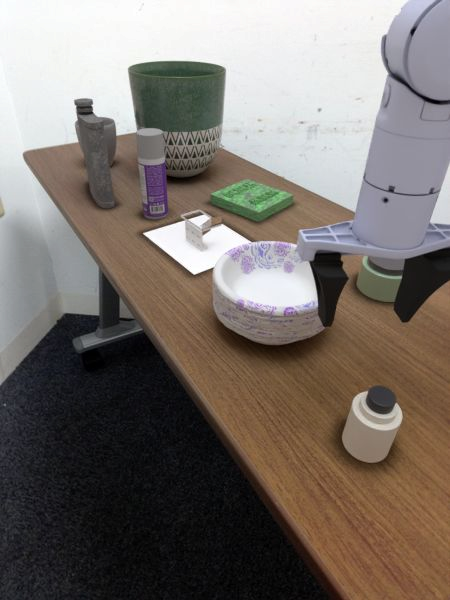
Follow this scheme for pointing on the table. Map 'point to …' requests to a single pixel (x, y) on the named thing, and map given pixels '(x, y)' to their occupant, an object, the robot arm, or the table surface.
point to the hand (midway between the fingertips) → (362, 318)
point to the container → (152, 172)
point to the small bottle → (372, 424)
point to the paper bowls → (266, 293)
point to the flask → (95, 153)
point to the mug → (109, 136)
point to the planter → (181, 110)
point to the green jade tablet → (251, 199)
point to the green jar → (380, 277)
